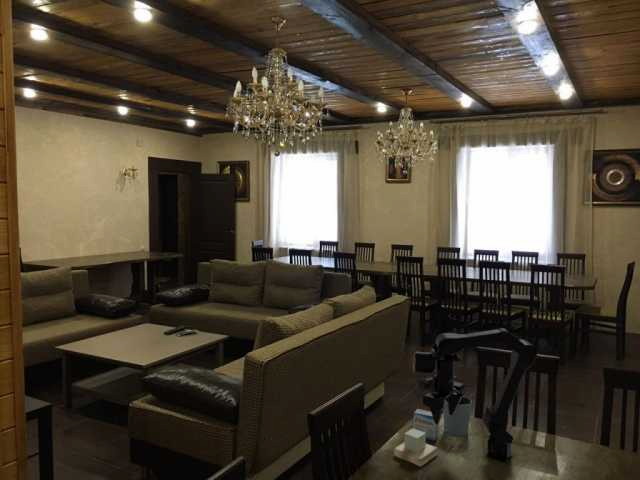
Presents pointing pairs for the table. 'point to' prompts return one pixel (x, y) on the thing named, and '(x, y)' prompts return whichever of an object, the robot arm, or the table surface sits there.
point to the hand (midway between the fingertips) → (443, 419)
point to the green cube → (415, 440)
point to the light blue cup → (457, 418)
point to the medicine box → (425, 424)
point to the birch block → (416, 454)
